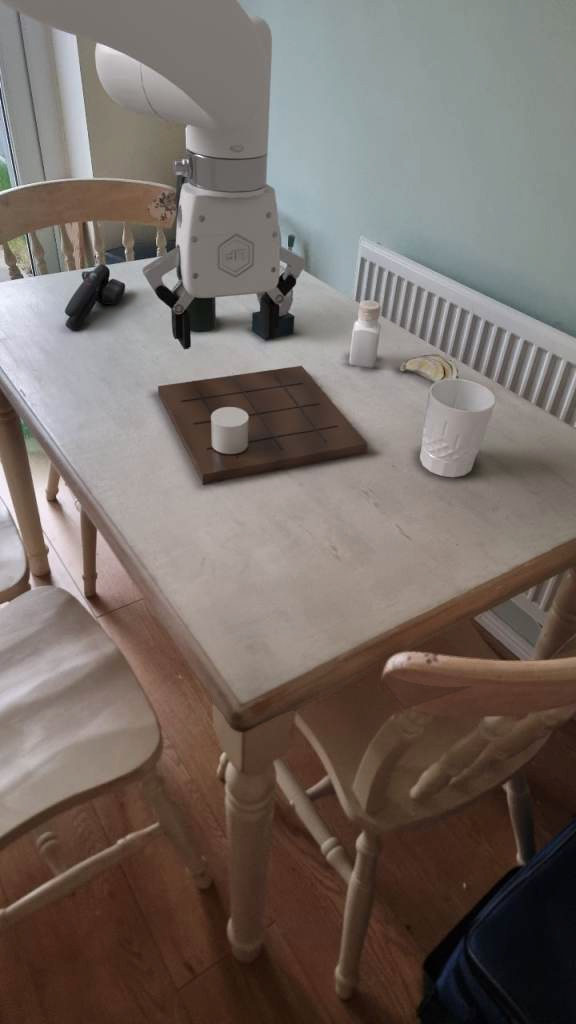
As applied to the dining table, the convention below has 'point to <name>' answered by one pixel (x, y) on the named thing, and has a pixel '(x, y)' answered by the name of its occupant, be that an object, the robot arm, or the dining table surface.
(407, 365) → the oyster shell
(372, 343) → the pepper shaker
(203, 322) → the wine bottle
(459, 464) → the white cup
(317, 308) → the dining table surface
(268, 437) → the board
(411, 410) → the dining table surface
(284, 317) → the watch
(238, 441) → the white cylinder
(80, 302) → the can opener
